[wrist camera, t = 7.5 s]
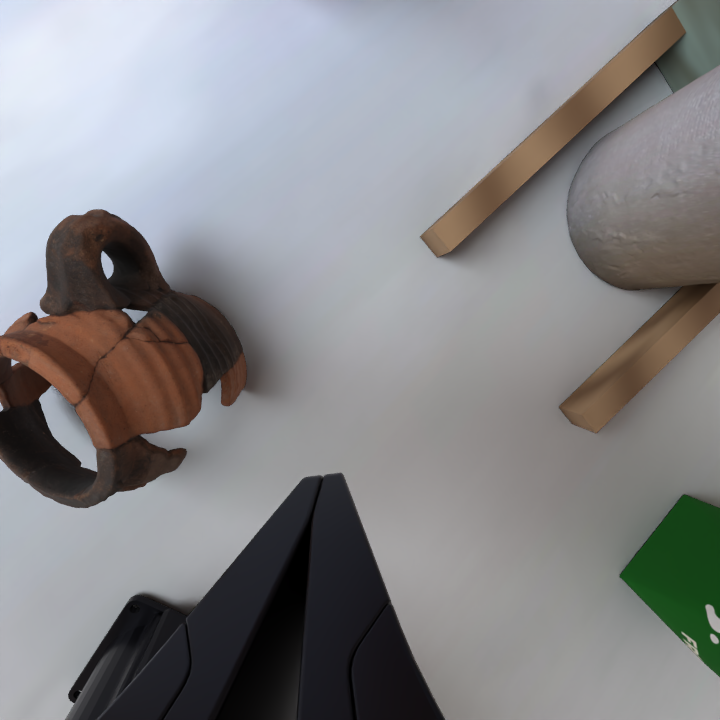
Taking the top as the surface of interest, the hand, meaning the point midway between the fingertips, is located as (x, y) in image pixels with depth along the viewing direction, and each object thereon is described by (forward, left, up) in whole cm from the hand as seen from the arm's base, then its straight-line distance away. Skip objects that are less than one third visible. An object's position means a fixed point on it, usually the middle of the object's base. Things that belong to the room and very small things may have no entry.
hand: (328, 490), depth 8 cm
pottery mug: (-3, +8, -14) cm, 16 cm away
